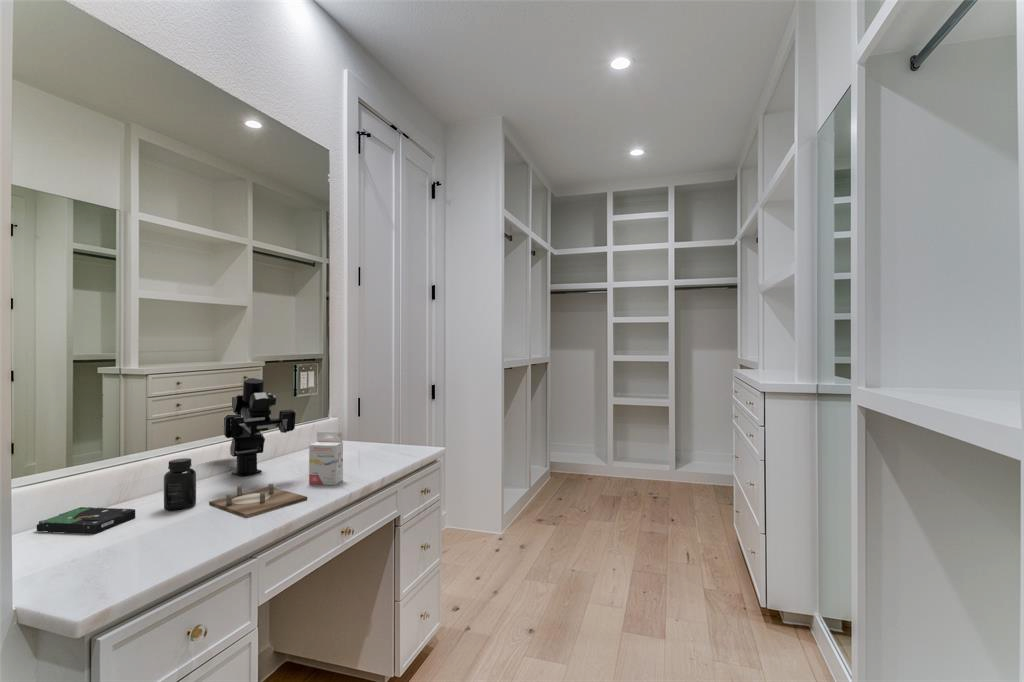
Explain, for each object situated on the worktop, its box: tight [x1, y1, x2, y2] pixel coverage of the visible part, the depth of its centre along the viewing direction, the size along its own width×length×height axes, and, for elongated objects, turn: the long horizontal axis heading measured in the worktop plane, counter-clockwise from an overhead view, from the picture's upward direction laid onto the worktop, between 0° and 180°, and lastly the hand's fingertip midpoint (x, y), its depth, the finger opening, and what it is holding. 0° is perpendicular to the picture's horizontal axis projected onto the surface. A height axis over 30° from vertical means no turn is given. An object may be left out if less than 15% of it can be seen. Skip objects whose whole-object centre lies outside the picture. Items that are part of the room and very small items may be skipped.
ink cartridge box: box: [308, 431, 344, 486], centre depth 146 cm, size 9×5×15 cm, turn 84°
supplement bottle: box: [163, 457, 197, 512], centre depth 124 cm, size 7×7×12 cm
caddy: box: [208, 483, 308, 519], centre depth 128 cm, size 18×16×3 cm
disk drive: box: [36, 506, 136, 535], centre depth 113 cm, size 10×3×15 cm
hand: (268, 433), depth 138 cm, fingers open, 9 cm apart
